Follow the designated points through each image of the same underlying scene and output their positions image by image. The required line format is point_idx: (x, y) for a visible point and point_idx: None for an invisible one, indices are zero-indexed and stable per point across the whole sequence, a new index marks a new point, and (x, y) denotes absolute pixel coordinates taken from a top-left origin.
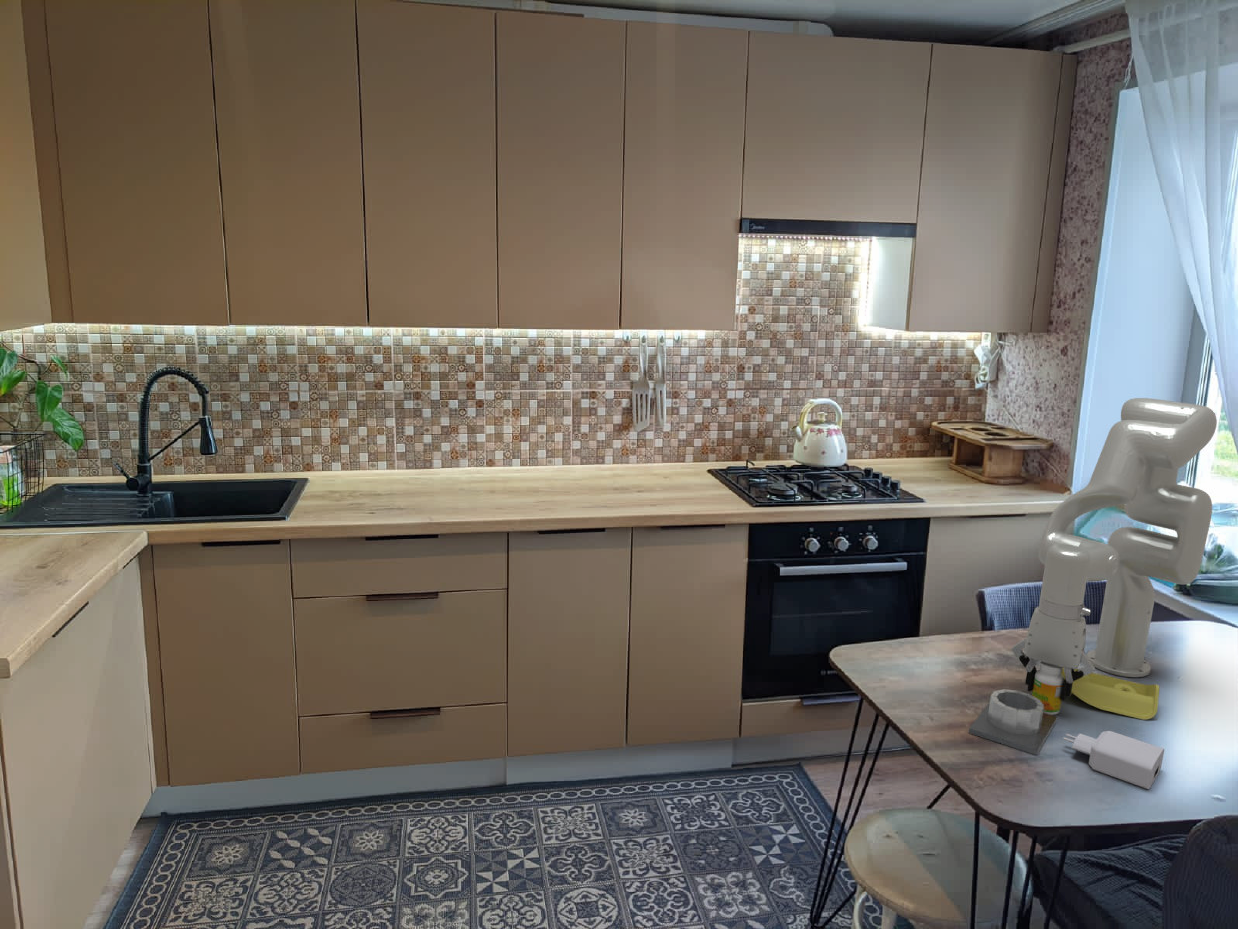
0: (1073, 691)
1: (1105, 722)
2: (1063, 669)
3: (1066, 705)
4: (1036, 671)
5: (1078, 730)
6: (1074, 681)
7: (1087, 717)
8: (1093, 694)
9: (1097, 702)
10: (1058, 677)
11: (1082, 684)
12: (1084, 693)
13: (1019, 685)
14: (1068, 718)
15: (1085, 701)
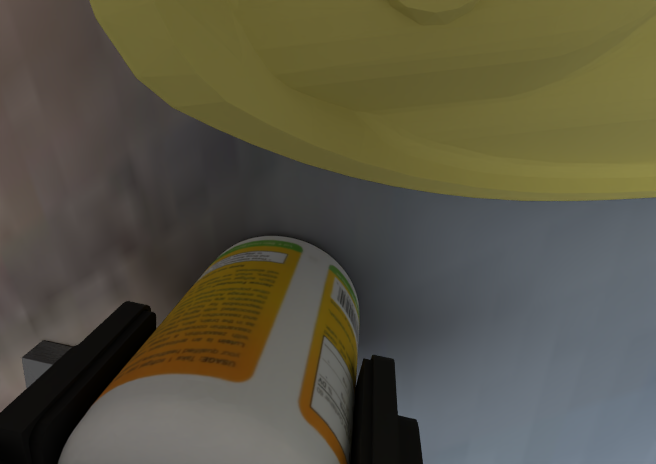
0: (458, 190)
1: (620, 316)
2: (347, 13)
3: (405, 192)
4: (55, 439)
5: (444, 446)
6: (487, 100)
7: (518, 299)
8: (650, 136)
9: (648, 158)
10: None
11: (575, 100)
12: (560, 151)
13: (81, 14)
14: (406, 353)
15: (543, 199)
